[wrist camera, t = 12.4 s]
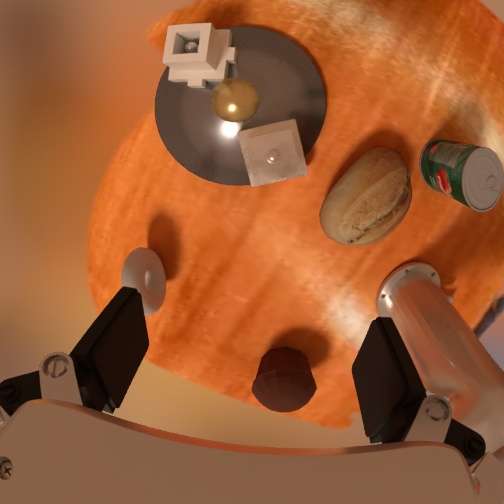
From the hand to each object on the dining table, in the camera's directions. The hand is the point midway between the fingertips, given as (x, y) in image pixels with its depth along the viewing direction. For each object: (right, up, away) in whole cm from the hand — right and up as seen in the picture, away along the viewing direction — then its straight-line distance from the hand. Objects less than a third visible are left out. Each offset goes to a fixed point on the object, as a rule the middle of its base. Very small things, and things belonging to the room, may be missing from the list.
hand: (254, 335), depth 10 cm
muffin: (+6, -18, +39) cm, 43 cm away
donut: (-15, +1, +32) cm, 36 cm away
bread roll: (+15, +11, +25) cm, 31 cm away
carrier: (-2, +22, +21) cm, 31 cm away
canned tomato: (+28, +16, +22) cm, 39 cm away
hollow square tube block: (-6, +28, +18) cm, 34 cm away
